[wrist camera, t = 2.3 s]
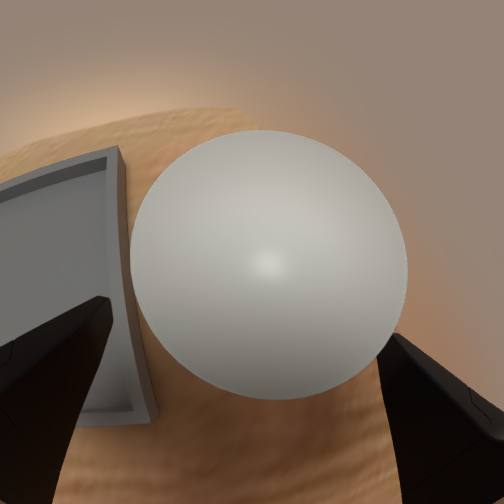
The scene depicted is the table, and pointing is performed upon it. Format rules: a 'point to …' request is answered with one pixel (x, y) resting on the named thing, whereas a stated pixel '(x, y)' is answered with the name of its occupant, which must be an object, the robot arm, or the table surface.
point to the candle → (268, 264)
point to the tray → (76, 272)
